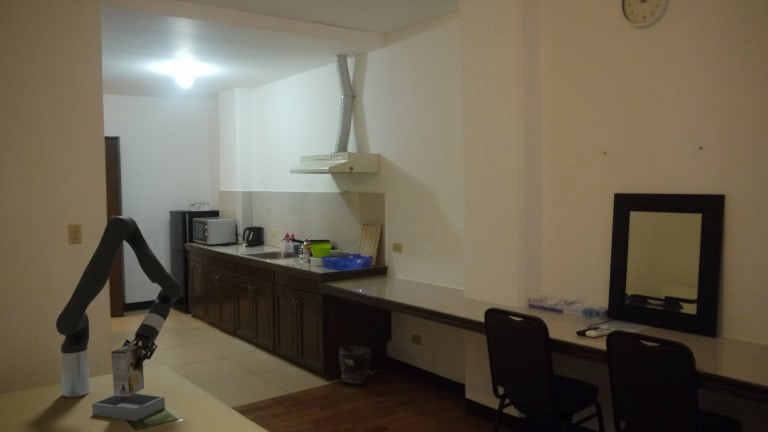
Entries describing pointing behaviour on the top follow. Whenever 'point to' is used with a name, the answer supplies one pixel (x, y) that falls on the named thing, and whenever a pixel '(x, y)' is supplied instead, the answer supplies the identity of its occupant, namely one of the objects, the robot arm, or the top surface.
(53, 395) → the top surface
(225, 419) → the top surface
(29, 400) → the top surface
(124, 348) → the coffee box
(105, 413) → the tray
